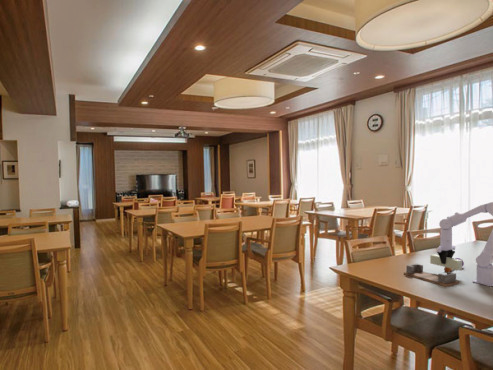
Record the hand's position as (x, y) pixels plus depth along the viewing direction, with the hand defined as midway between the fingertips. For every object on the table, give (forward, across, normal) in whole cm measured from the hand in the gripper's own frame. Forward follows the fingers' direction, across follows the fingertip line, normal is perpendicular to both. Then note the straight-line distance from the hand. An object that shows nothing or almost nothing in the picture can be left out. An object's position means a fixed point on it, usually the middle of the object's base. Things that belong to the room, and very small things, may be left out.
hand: (445, 263), depth 192 cm
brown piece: (+7, -17, -6) cm, 19 cm away
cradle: (+7, +14, 0) cm, 16 cm away
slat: (+2, 0, 0) cm, 2 cm away
